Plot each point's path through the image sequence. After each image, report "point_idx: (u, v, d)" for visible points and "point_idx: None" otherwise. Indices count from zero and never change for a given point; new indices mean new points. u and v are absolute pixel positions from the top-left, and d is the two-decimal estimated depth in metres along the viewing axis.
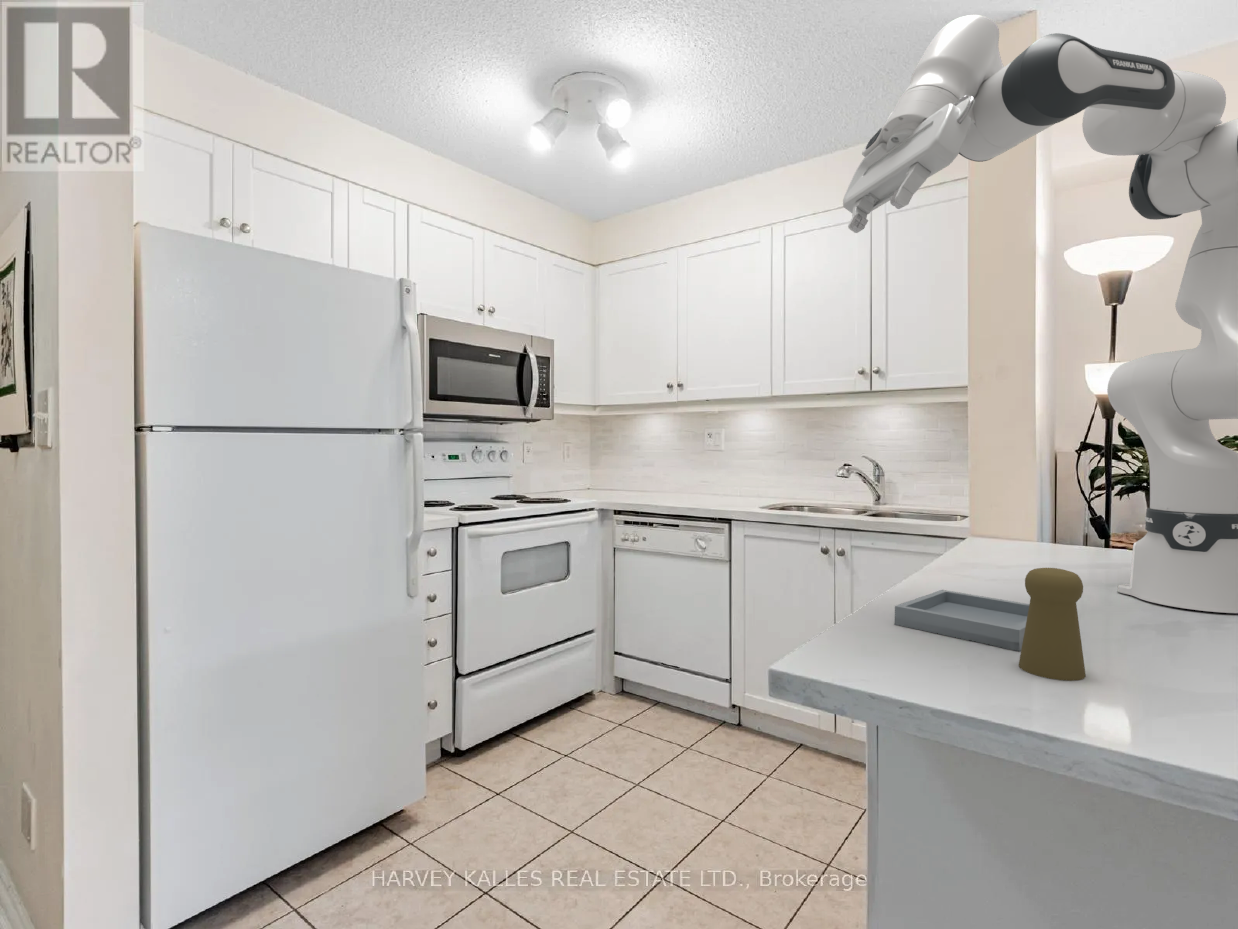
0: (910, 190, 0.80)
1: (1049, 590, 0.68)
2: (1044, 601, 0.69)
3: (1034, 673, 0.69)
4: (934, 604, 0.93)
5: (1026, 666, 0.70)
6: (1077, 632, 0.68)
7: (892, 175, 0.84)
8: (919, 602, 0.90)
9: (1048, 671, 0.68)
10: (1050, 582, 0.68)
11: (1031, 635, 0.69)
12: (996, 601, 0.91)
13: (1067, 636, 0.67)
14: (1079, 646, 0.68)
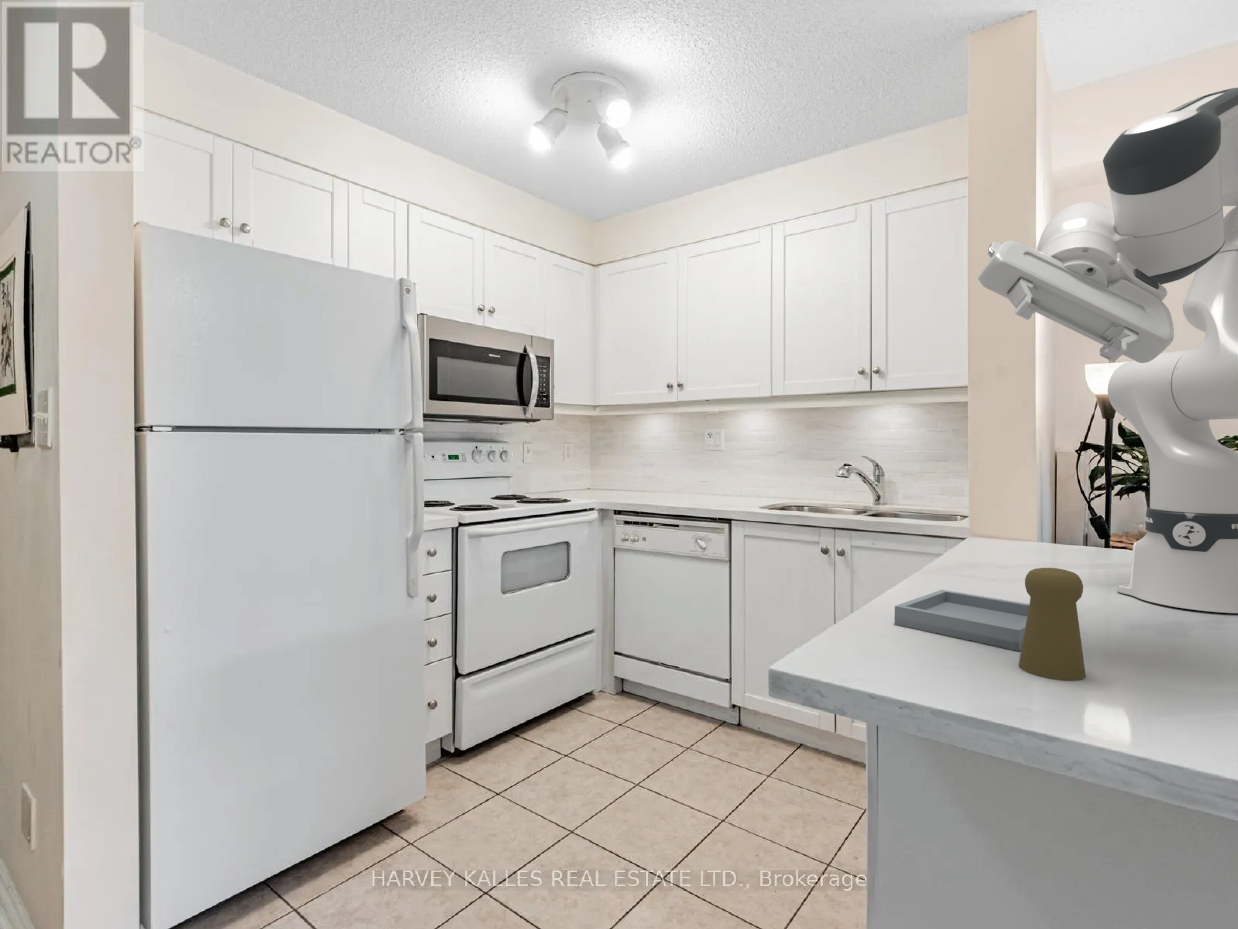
0: (1021, 297, 0.70)
1: (1049, 590, 0.68)
2: (1044, 601, 0.69)
3: (1034, 673, 0.69)
4: (934, 604, 0.93)
5: (1026, 666, 0.70)
6: (1077, 632, 0.68)
7: (1043, 313, 0.73)
8: (919, 602, 0.90)
9: (1048, 671, 0.68)
10: (1050, 582, 0.68)
11: (1031, 635, 0.69)
12: (996, 601, 0.91)
13: (1067, 636, 0.67)
14: (1079, 646, 0.68)
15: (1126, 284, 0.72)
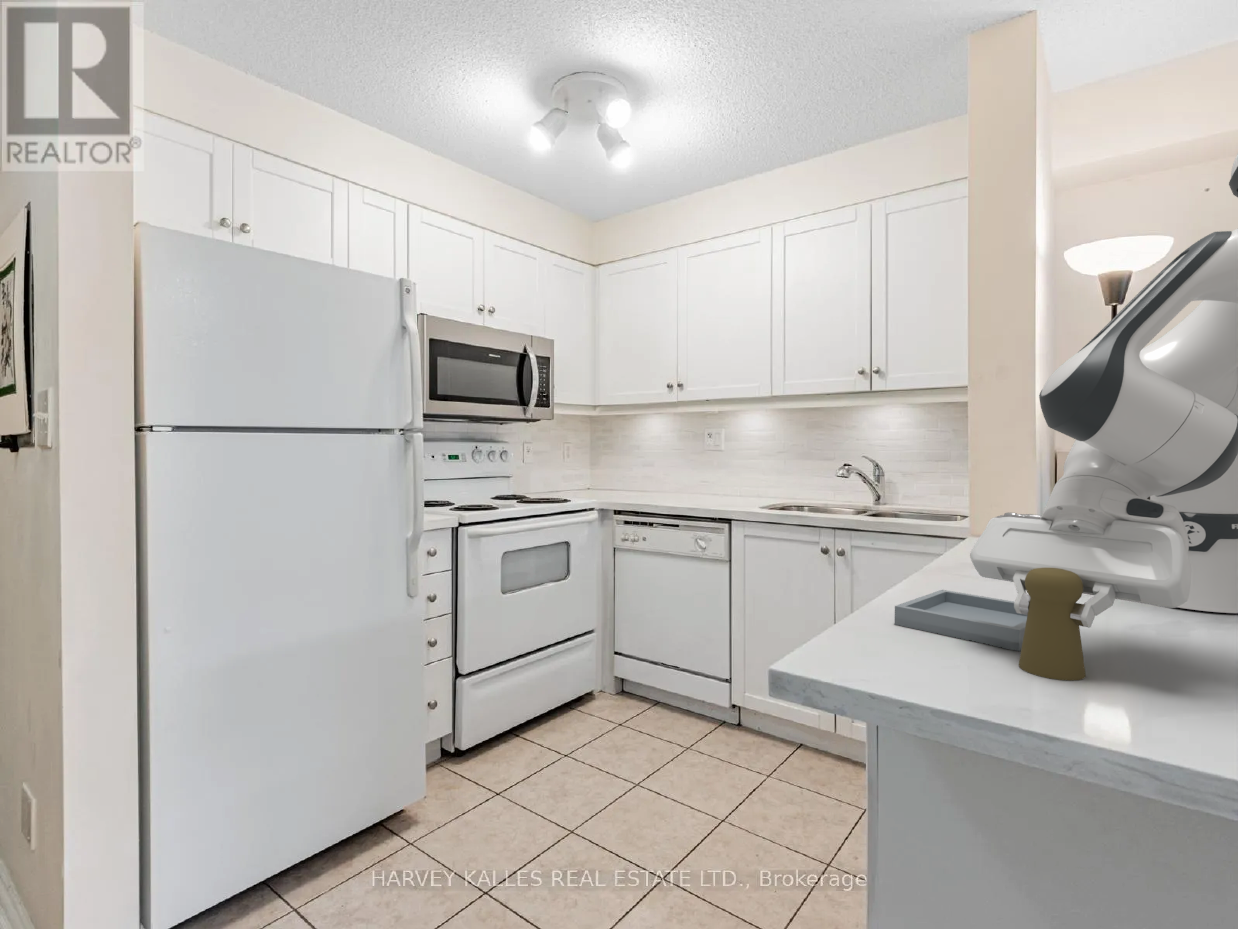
0: None
1: (1049, 589, 0.68)
2: (1044, 601, 0.69)
3: (1034, 673, 0.69)
4: (934, 604, 0.93)
5: (1026, 666, 0.70)
6: (1077, 632, 0.68)
7: None
8: (919, 602, 0.90)
9: (1048, 671, 0.68)
10: (1050, 582, 0.68)
11: (1031, 634, 0.69)
12: (996, 601, 0.91)
13: (1067, 636, 0.67)
14: (1079, 646, 0.68)
15: (1118, 526, 0.69)
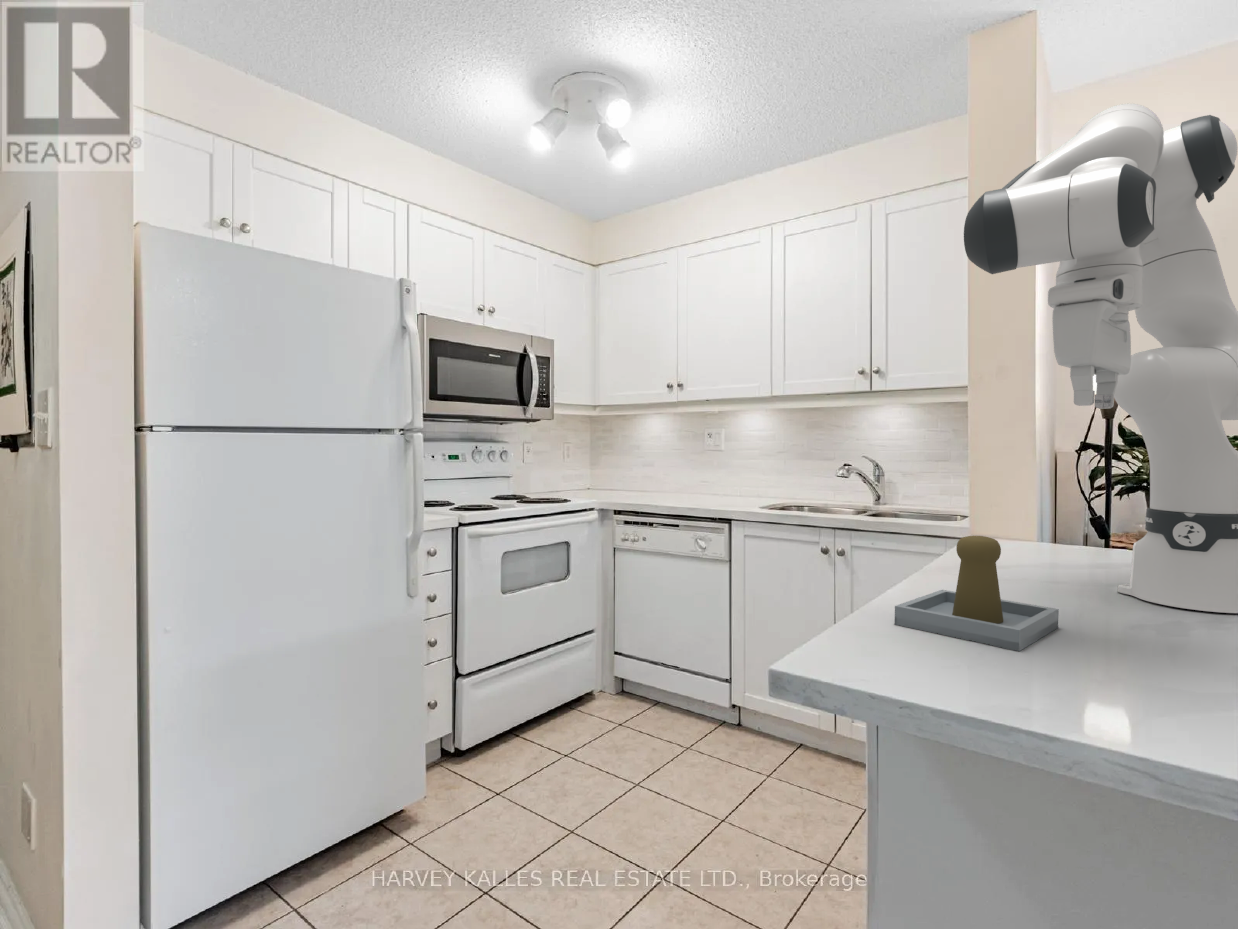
0: None
1: (970, 552, 0.85)
2: (968, 561, 0.86)
3: None
4: (934, 604, 0.93)
5: (955, 613, 0.87)
6: (994, 586, 0.85)
7: (1112, 370, 0.82)
8: (919, 602, 0.90)
9: (969, 616, 0.85)
10: (971, 545, 0.85)
11: (959, 588, 0.87)
12: None
13: (985, 588, 0.85)
14: (996, 597, 0.85)
15: None
